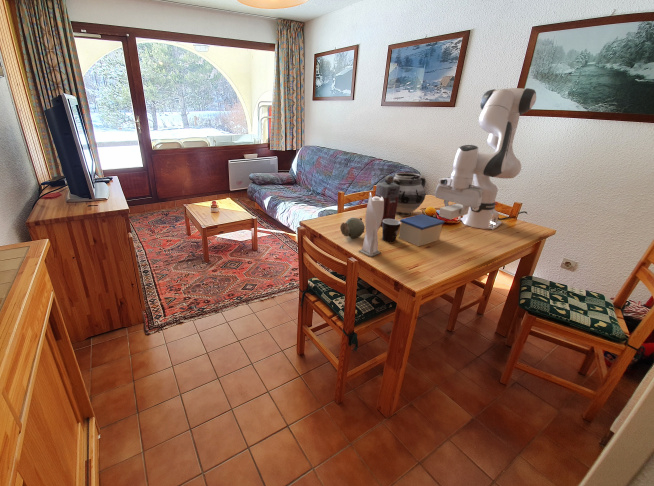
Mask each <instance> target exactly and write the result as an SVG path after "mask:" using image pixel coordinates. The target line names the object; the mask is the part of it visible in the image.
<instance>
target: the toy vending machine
mask: <svg viewBox="0 0 654 486" xmlns="http://www.w3.org/2000/svg"><path fill="white" fill-rule="evenodd" d="M393 178H394V176H392V175H390V174H389V175H386V176H385V177H384V182H377V184H376V188H375V195H374V196H377V197H380V198H381V197H383V199H384V210H383V218H382V222H381V225H380V228H382V225H383V220H384V219H395V220H396V216H397V214H396V210H397V203H398V197H399V190H400V185H397V184H394V183H392V182H393ZM383 199H382V200H383Z"/></svg>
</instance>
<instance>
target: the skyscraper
mask: <svg viewBox="0 0 654 486" xmlns="http://www.w3.org/2000/svg"><path fill="white" fill-rule="evenodd" d="M382 199H383V197H381V198H380V197H377V196H375V195H374V196H373V195H372V192H369V194H368V199H367V204H366V210H365V217H364V221H365V222H364V226H365V235H364V239H363V242H362V247H361V249H360V250H358V252H359V253H361V254H364V255H366V256H368V257H370V258H373V257H375V256H377V255H379V254H381V251H379V235H378V232H379V230H380V228H381V226H380V225H381V222H382V218H383V210H384V199H383V200H382Z"/></svg>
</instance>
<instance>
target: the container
mask: <svg viewBox="0 0 654 486" xmlns="http://www.w3.org/2000/svg"><path fill="white" fill-rule="evenodd" d="M399 221H400V222H401V224H400V227H399V233H398V234H399V235H398V238H399V240H403V241H405V242H407V243H410V244H412V245H414V246H417V247H421V246H424V245H427V244H431V243H434V242H436V241H439V240H440V237H441V234H442V233H441V232H442V228H443V225H444V224H445V220H441V219H439V218H436V217H432V216H429V215H426V214H423V213H421V214H417V215H412V216H408V217H404V218H400V220H399Z"/></svg>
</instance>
